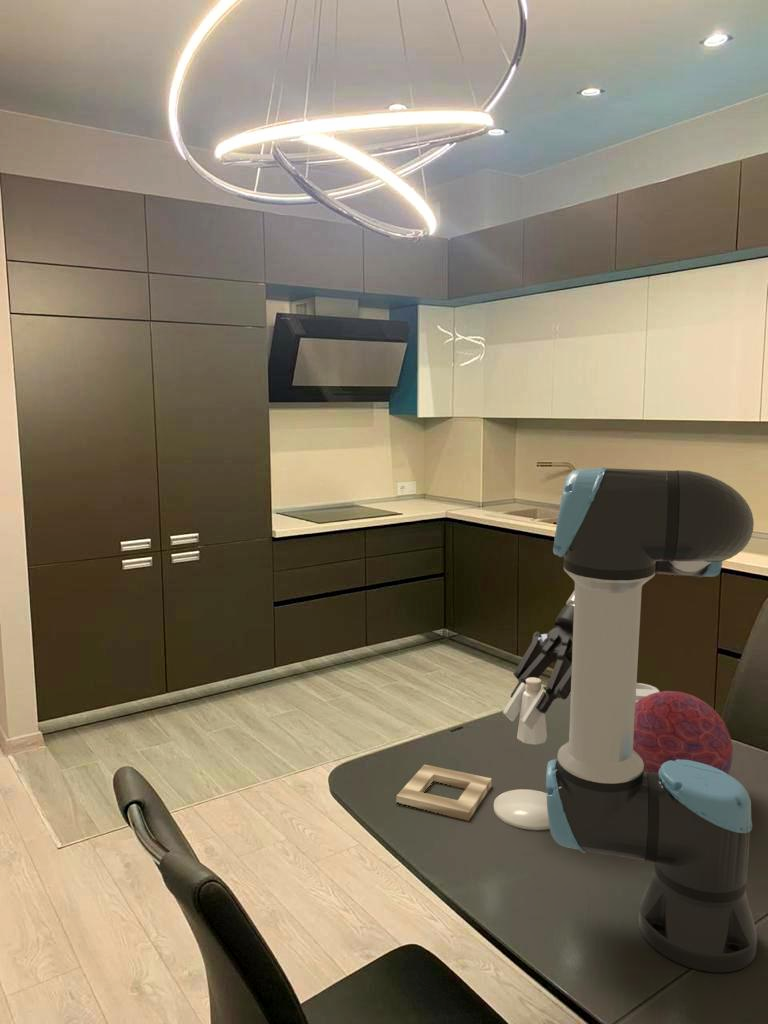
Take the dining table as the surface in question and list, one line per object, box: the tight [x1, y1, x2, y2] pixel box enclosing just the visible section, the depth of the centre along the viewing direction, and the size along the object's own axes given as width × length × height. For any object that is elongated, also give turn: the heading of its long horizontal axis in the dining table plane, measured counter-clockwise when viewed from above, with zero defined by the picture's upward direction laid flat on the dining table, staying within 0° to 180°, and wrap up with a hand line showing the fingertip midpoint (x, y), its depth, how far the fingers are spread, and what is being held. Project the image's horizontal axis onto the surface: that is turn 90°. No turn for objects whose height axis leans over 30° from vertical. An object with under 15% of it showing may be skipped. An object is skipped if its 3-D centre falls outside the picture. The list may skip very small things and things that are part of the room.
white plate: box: [493, 788, 550, 831], centre depth 138 cm, size 13×13×1 cm
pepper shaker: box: [516, 677, 548, 746], centre depth 136 cm, size 5×5×11 cm
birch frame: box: [395, 764, 493, 822], centre depth 144 cm, size 14×14×2 cm
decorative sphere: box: [633, 690, 734, 775], centre depth 143 cm, size 20×20×20 cm
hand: (517, 720), depth 134 cm, fingers closed on pepper shaker, 4 cm apart
